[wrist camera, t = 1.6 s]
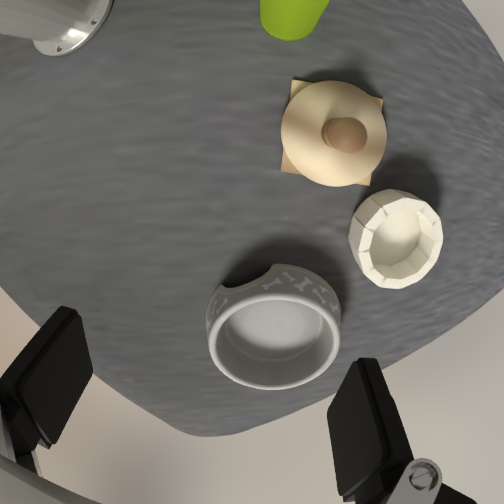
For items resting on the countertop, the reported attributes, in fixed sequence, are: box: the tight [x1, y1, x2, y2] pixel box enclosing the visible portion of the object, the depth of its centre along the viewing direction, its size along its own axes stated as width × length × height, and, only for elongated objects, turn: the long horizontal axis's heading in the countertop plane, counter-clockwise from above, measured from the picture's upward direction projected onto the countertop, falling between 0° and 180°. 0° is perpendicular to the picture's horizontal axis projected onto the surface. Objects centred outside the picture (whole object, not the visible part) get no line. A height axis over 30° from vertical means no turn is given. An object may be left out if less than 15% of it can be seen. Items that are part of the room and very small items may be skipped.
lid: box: [281, 81, 387, 186], centre depth 26 cm, size 11×11×6 cm
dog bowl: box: [206, 264, 341, 390], centre depth 37 cm, size 17×18×5 cm
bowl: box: [348, 189, 443, 289], centre depth 32 cm, size 10×10×4 cm
